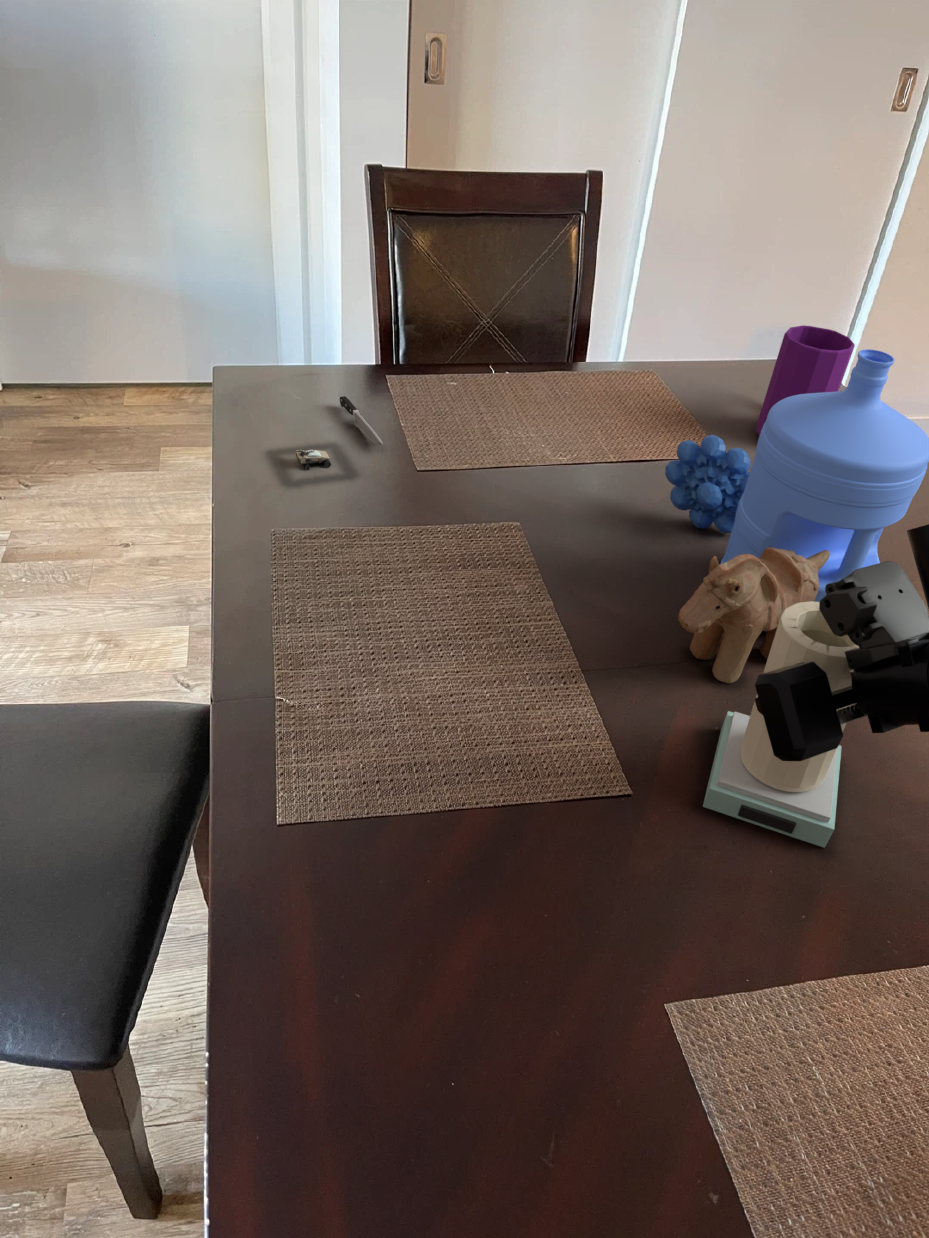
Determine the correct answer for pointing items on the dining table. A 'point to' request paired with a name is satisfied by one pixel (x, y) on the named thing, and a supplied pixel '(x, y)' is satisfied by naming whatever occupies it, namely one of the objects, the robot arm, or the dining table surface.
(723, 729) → the scale
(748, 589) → the figurine
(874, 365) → the water jug
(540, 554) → the dining table surface
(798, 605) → the jar
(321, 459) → the toy car
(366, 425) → the knife
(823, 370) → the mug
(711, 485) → the blue knobby flower
